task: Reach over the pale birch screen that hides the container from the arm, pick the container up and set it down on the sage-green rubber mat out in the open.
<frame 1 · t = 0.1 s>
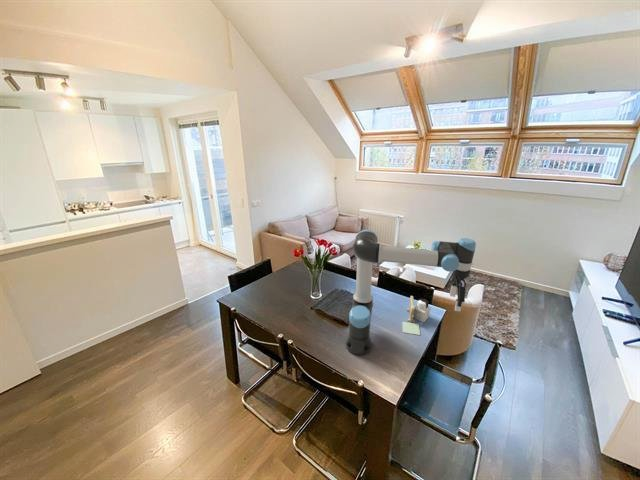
hand: (454, 303, 143), 28 cm above the table, fingers open, 13 cm apart
screen: (410, 315, 177), on the table
container: (420, 317, 176), on the table
mat: (410, 328, 166), on the table
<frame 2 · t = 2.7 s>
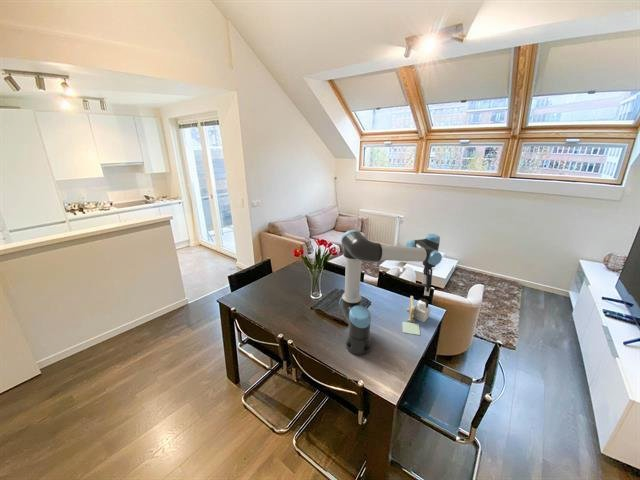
hand: (425, 289, 168), 21 cm above the table, fingers open, 13 cm apart
nothing on the table moved.
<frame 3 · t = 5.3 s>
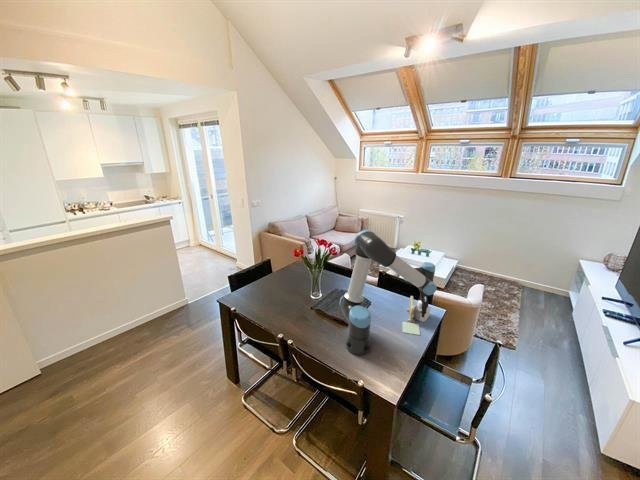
hand: (421, 315, 175), 2 cm above the table, fingers closed on container, 10 cm apart
container: (420, 317, 176), on the table, touching gripper
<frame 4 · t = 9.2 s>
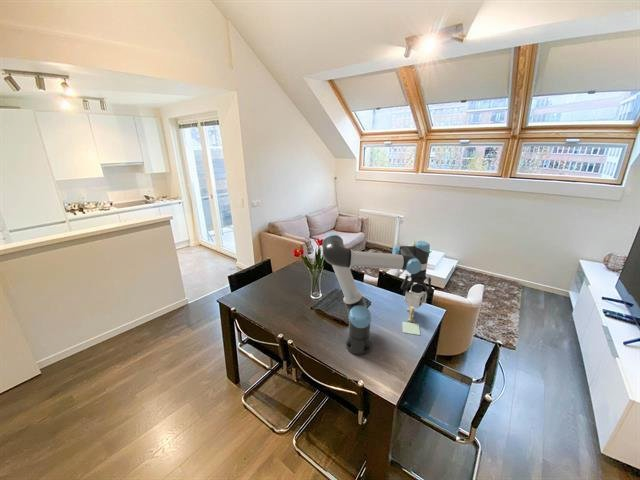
hand: (414, 300, 158), 20 cm above the table, fingers closed on container, 10 cm apart
container: (414, 303, 159), point 18 cm above the table, touching gripper
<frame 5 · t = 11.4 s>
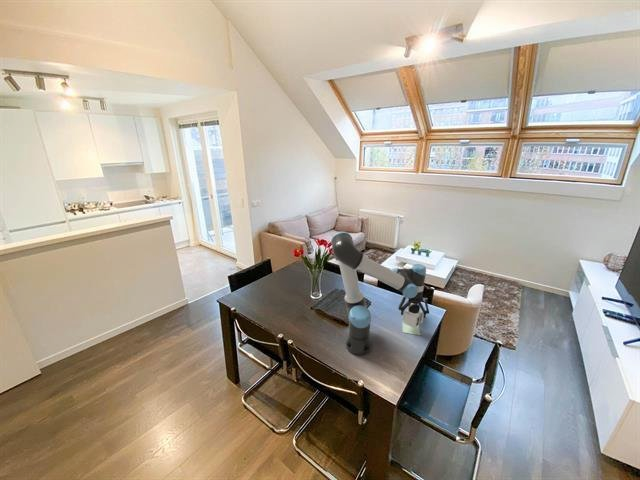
hand: (412, 320, 163), 6 cm above the table, fingers closed on container, 10 cm apart
container: (411, 323, 164), point 4 cm above the table, touching gripper
when the fingers open (4 cm above the table, at t = 13.0 s): container drops 1 cm, resting on mat.
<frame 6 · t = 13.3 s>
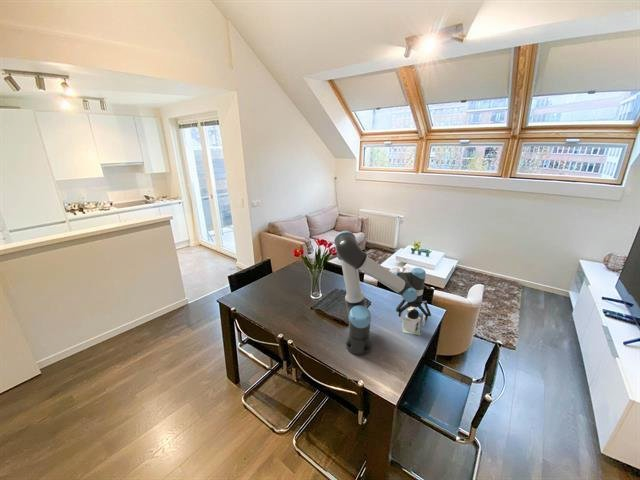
hand: (411, 322, 164), 5 cm above the table, fingers open, 13 cm apart
container: (410, 328, 165), resting on mat
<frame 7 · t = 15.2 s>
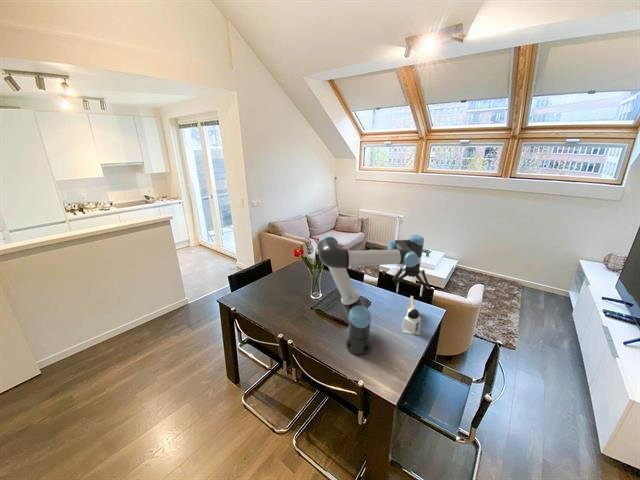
hand: (408, 293, 159), 24 cm above the table, fingers open, 13 cm apart
nothing on the table moved.
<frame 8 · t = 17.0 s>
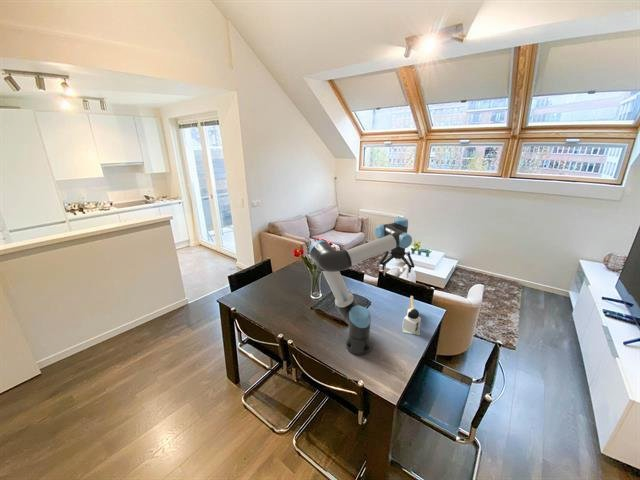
hand: (395, 275, 164), 32 cm above the table, fingers open, 13 cm apart
nothing on the table moved.
at the end: container 0.0 cm from the mat (horizontally); container tilted 0°; the gripper is holding nothing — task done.
